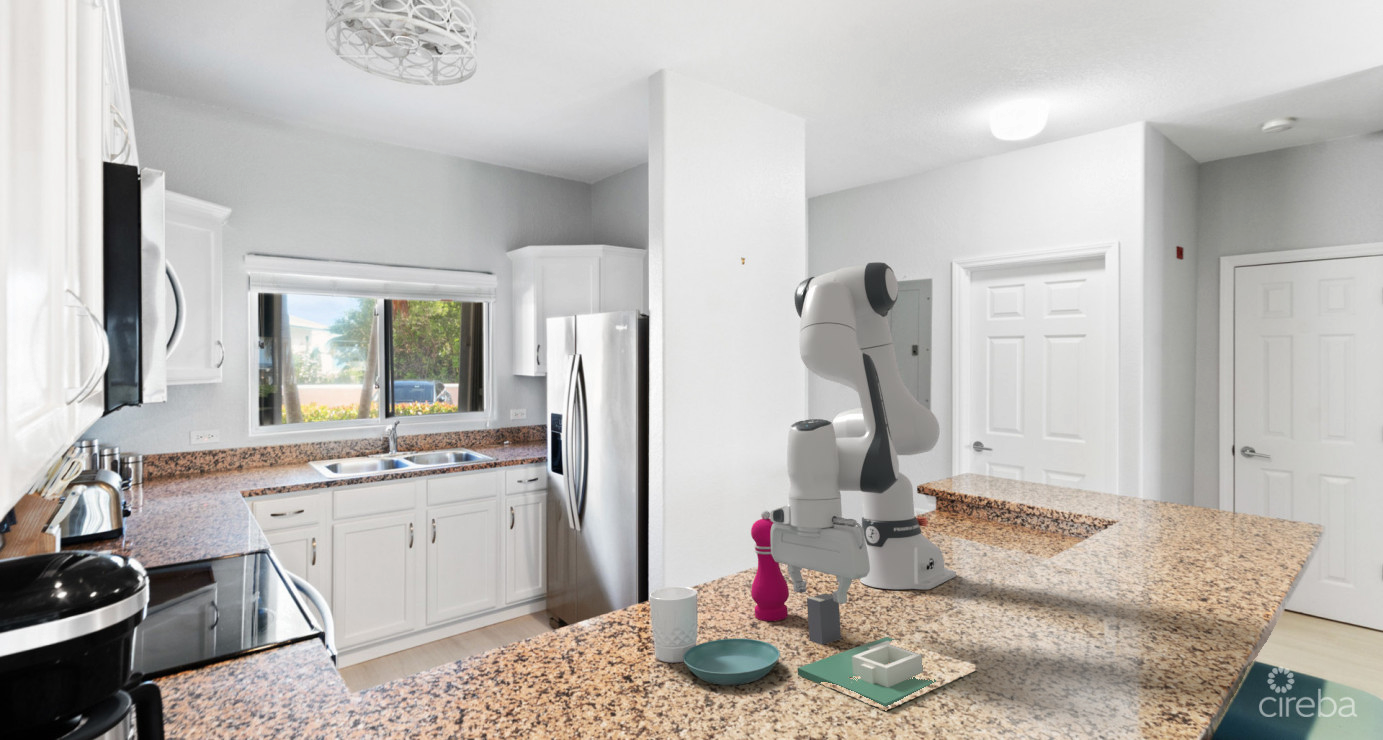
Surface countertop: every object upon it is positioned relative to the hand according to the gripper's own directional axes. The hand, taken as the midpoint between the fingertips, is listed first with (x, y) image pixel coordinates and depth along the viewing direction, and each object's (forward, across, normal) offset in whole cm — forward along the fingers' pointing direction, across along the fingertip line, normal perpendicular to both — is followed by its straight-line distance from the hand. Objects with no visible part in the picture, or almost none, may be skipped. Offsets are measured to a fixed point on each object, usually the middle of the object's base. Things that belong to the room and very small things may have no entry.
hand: (819, 597), depth 111 cm
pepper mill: (+7, +16, -3) cm, 18 cm away
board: (+7, -16, +3) cm, 18 cm away
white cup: (+8, +11, +22) cm, 26 cm away
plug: (+7, 0, -1) cm, 7 cm away
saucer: (+8, 0, +19) cm, 21 cm away
